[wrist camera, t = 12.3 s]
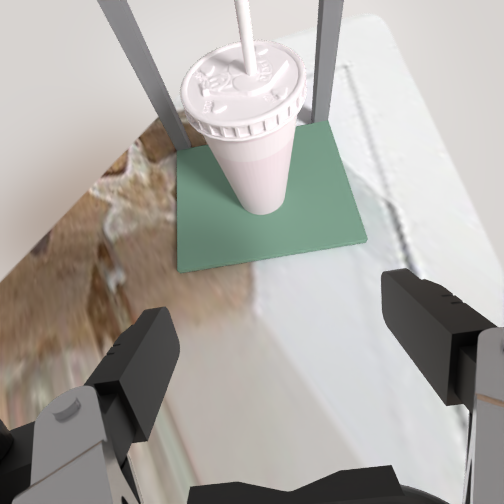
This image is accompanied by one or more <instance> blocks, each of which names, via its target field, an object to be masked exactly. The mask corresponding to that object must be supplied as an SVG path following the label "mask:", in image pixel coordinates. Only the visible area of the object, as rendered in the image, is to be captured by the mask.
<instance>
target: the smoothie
mask: <svg viewBox="0 0 504 504" xmlns="http://www.w3.org/2000/svg"><path fill="white" fill-rule="evenodd" d="M234 1H235V8H236V14H237V20H238V26H239V33H240V39H241V41H240V42H235V43H232V44H228V45H225V46H222V47H220V48H217V49H215V50H213V51H212V52H210V53H208V54H206V55H205V56H203V57H202V58H200V59H199V60H198V61H197V62H196V63H195V64H194V65H193V66H192V67H191V68H190V69H189V71H188V72H187V73H186V75H185V77H184V79H183V81H182V84H181V89H180V97H181V101H182V104H183V106H184V109H185V114H186V117H187V119H188V121H189V123H190V124H191V125H192V126H193V127H194V128H195V129H196V130H197V131H198V132H199V133H201V134H203V136H204V138H205V140H206V142H207V144H208V146H209V147H210V149H211V151H212V152H213V154H214V156H215V158H216V160H217V161H218V163H219V165H220V167H221V169H222V170H223V172H224V174H225V176H226V178H227V179H228V181H229V183H230V185H231V187H232V189H233V190H234V192H235V194H236V196H237V198H238V199H239V201H240V203H241V205H242V206H243V208H244V209H245V210H246V211H248V212H250V213H252V214H256V215H265V214H269V213H272V212H274V211H275V210H277V209H278V208H279V207H280V206H281V205H282V203H283V201H284V199H285V193H286V186H287V180H288V173H289V167H290V160H291V153H292V147H293V140H294V134H295V128H296V121H297V114H298V112H299V111H300V110H301V108H302V106H303V103H304V101H305V99H306V90H307V86H306V68H305V65H304V62H303V60H302V59H301V57H300V56H299V55H298V54H297V53H296V52H295V51H293V50H292V49H290V48H289V47H287V46H284V45H282V44H280V43H276V42H272V41H265V40H253V33H252V25H251V16H250V8H249V0H234Z"/></svg>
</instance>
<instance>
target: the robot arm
mask: <svg viewBox="0 0 504 504" xmlns="http://www.w3.org/2000/svg"><path fill="white" fill-rule="evenodd" d="M381 293H382V313H383V317H384V320H385V323H386V325H387V327H388V328H389V329H390V331H391V332H392V333H393V335H394V336H395V337H396V339H397V340H398V342H399V343H400V344H401V346H402V347H403V348H404V350H405V351H406V352H407V354H408V355H409V356H410V358H411V359H412V360H413V362H414V363H415V365H416V366H417V367H418V369H419V370H420V371H421V373H422V374H423V375H424V377H425V378H426V379H427V381H428V382H429V383H430V385H431V386H432V387H433V389H434V390H435V392H436V393H437V394H438V396H439V397H440V398H441V400H442V401H443V402H444V404H445V405H446V406H450V405H458V404H464V405H465V406H466V408H467V409H468V410H469V418H468V432H467V447H466V462H465V477H464V491H463V501H462V504H504V327H497V326H496V325H494V324H493V323H492V322H490V321H489V320H488V319H486V318H485V317H484V316H482V315H481V314H480V313H478V312H477V311H475V310H474V309H473V308H471V307H470V306H469V305H467V304H466V303H463V302H462V300H460V299H459V298H458V297H456V296H453V294H452V293H451V292H450V291H448V290H447V289H446V288H444V287H443V286H441V285H439V284H436V283H434V282H431V281H429V280H426V279H423V280H421V279H420V278H418V277H417V276H416V275H414V274H413V273H412V272H411V271H409V270H408V269H406V268H403V269H397V270H391V271H385V272H383V273H382V275H381ZM179 353H180V344H179V339H178V336H177V334H176V331H175V328H174V325H173V322H172V319H171V316H170V313H169V311H168V309H167V308H166V307H159V308H153V309H147V310H144V311H143V312H142V314H141V315H140V317H139V318H138V320H137V321H136V323H135V324H134V325H131V326H130V327H129V328H128V329H127V330H125V331H124V332H123V333H122V334H121V335H120V336H119V337H118V339H117V340H116V341H115V343H114V344H113V347H111V348H110V350H109V351H108V352H107V356H105V357H104V358H103V359H102V361H101V362H100V363H99V365H98V366H97V368H96V369H95V370H94V372H93V373H92V374H91V376H90V377H89V379H88V380H87V381H86V383H85V384H84V385H83V386H80V387H76V388H73V389H71V390H69V391H67V392H65V393H63V394H61V395H60V396H58V397H57V398H55V399H54V400H53V401H52V402H50V403H49V404H48V405H47V406H46V407H45V408H44V409H43V410H42V412H41V413H40V414H39V416H38V417H37V419H36V421H34V422H31V423H29V424H26V425H24V426H21V427H18V428H16V429H13V430H11V431H9V430H8V429H7V427H6V426H5V425H4V423H3V422H2V421H1V420H0V504H144V502H143V499H142V495H141V492H140V489H139V485H138V482H137V479H136V475H135V472H134V469H133V465H132V462H131V459H130V457H129V455H128V450H129V448H130V446H131V443H137V442H145V441H148V438H149V436H150V433H151V430H152V428H153V425H154V422H155V420H156V417H157V414H158V411H159V409H160V406H161V403H162V401H163V398H164V395H165V393H166V390H167V387H168V384H169V382H170V379H171V376H172V374H173V371H174V368H175V366H176V363H177V360H178V357H179ZM187 504H449V503H447V502H446V501H444V500H442V499H440V498H438V497H436V496H434V495H431V494H429V493H427V492H424V491H422V490H418V489H415V488H412V487H409V486H404V485H400V484H399V481H398V479H397V477H396V474H395V472H394V470H393V467H392V465H388V466H378V467H369V468H360V469H351V470H341V471H338V472H336V473H333V474H331V475H329V476H326V477H324V478H322V479H319V480H317V481H315V482H313V483H310V484H308V485H306V486H303V487H301V488H299V489H296V490H294V491H289V492H286V491H280V490H275V489H271V488H266V487H261V486H256V485H251V484H246V483H242V482H230V483H220V484H211V485H202V486H192V487H190V490H189V496H188V501H187Z"/></svg>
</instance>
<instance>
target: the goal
mask: <svg viewBox="0 0 504 504" xmlns="http://www.w3.org/2000/svg"><path fill="white" fill-rule="evenodd" d="M97 1H98V3H99V5H100V7H101V9H102V10H103V12H104V14H105V16H106V18H107V20H108V22H109V24H110V26H111V28H112V29H113V31H114V33H115V35H116V37H117V39H118V41H119V42H120V44H121V46H122V48H123V50H124V52H125V54H126V56H127V58H128V59H129V61H130V63H131V65H132V67H133V69H134V71H135V73H136V75H137V77H138V78H139V80H140V82H141V84H142V86H143V88H144V90H145V91H146V93H147V95H148V97H149V99H150V101H151V103H152V105H153V107H154V108H155V111H156V112H157V114H158V116H159V118H160V120H161V122H162V124H163V126H164V128H165V129H166V131H167V133H168V135H169V137H170V139H171V141H172V143H173V145H174V146H175V148H176V150H177V271H178V272H180V273H185V272H191V271H197V270H203V269H209V268H215V267H221V266H227V265H233V264H239V263H245V262H251V261H258V260H264V259H270V258H276V257H282V256H288V255H294V254H300V253H306V252H312V251H318V250H324V249H330V248H336V247H342V246H348V245H354V244H360V243H366V241H367V239H368V238H367V235H366V232H365V229H364V226H363V223H362V220H361V217H360V214H359V211H358V209H357V206H356V203H355V200H354V197H353V194H352V191H351V188H350V185H349V182H348V179H347V176H346V173H345V170H344V167H343V164H342V161H341V158H340V155H339V152H338V149H337V146H336V143H335V140H334V137H333V134H332V131H331V128H330V125H329V122H328V116H329V108H330V101H331V93H332V86H333V78H334V70H335V63H336V55H337V48H338V40H339V32H340V25H341V17H342V10H343V2H344V0H319V9H318V24H317V40H316V55H315V70H314V85H313V101H312V116H311V120H312V123H311V124H306V125H302V126H297V127H296V128H295V134H294V140H293V147H292V153H291V160H290V167H289V173H288V180H287V186H286V193H285V199H284V201H283V203H282V205H281V206H280V207H279V208H278V209H277V210H275V211H274V212H272V213H269V214H265V215H256V214H252V213H250V212H248V211H246V210H245V209H244V208H243V206H242V205H241V203H240V201H239V199H238V198H237V196H236V194H235V192H234V190H233V189H232V187H231V185H230V183H229V181H228V179H227V178H226V176H225V174H224V172H223V170H222V169H221V167H220V165H219V163H218V161H217V160H216V158H215V156H214V154H213V152H212V151H211V149H210V147H209V146H208V145H203V146H198V147H193V148H191V142H190V140H189V138H188V136H187V133H186V131H185V129H184V127H183V125H182V122H181V120H180V118H179V116H178V113H177V111H176V109H175V107H174V105H173V102H172V100H171V98H170V96H169V93H168V91H167V89H166V87H165V85H164V82H163V80H162V78H161V76H160V74H159V71H158V69H157V67H156V65H155V63H154V60H153V58H152V56H151V54H150V51H149V49H148V47H147V45H146V42H145V40H144V38H143V36H142V34H141V32H140V29H139V27H138V25H137V23H136V21H135V18H134V16H133V14H132V11H131V9H130V7H129V5H128V3H127V0H97Z"/></svg>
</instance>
